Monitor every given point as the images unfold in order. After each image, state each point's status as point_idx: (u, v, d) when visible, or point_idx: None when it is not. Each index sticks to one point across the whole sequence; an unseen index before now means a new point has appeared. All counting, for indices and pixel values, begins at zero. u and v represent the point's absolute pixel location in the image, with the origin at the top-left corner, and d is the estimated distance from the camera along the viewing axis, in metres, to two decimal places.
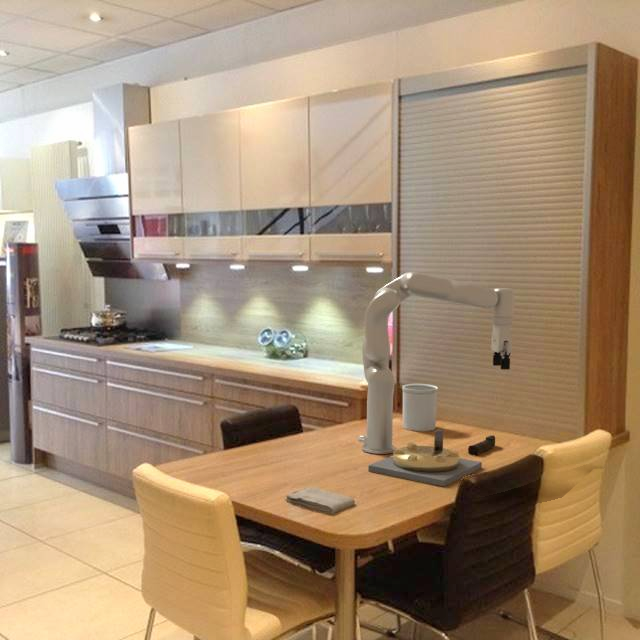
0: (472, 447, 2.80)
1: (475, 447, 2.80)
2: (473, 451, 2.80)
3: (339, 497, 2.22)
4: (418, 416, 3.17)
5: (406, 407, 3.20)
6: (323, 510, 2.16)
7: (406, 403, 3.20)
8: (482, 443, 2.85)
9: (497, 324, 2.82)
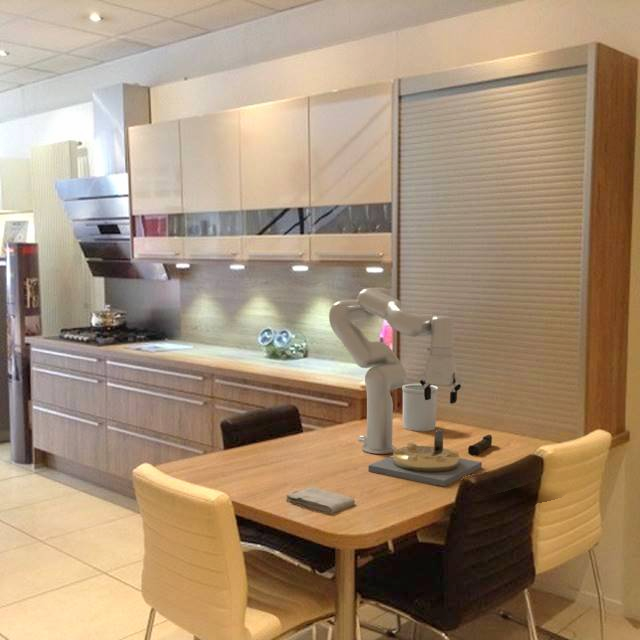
0: (472, 447, 2.80)
1: (475, 447, 2.80)
2: (473, 450, 2.80)
3: (339, 497, 2.22)
4: (418, 416, 3.17)
5: (406, 407, 3.20)
6: (322, 510, 2.16)
7: (406, 403, 3.20)
8: (481, 443, 2.85)
9: (444, 356, 2.61)
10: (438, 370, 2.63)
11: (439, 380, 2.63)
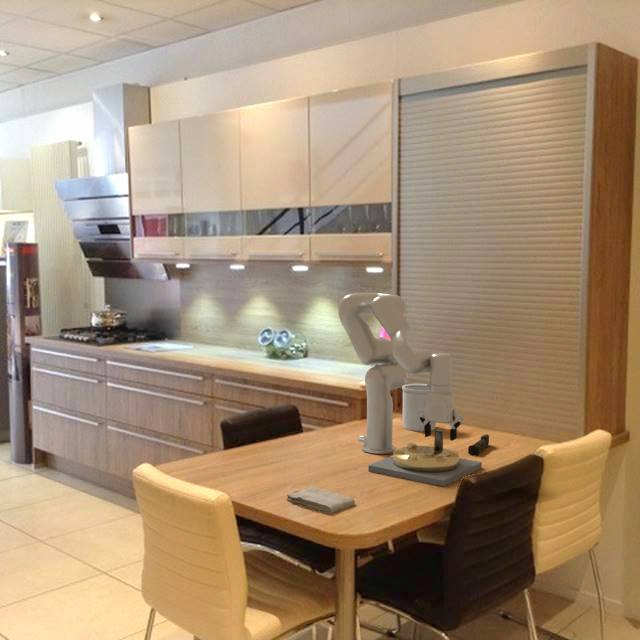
0: (472, 447, 2.80)
1: (476, 447, 2.80)
2: (473, 450, 2.80)
3: (339, 497, 2.22)
4: (418, 416, 3.17)
5: (406, 407, 3.20)
6: (322, 510, 2.16)
7: (406, 403, 3.20)
8: (480, 442, 2.86)
9: (443, 393, 2.62)
10: (437, 407, 2.64)
11: (439, 417, 2.63)
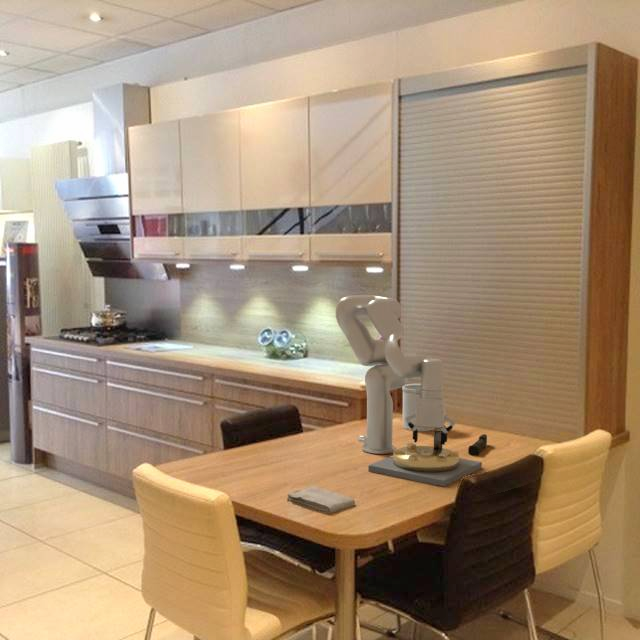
0: (473, 447, 2.80)
1: (476, 447, 2.80)
2: (473, 451, 2.80)
3: (339, 497, 2.22)
4: None
5: (406, 407, 3.20)
6: (321, 510, 2.16)
7: (406, 403, 3.20)
8: (479, 442, 2.86)
9: (437, 398, 2.64)
10: (431, 413, 2.65)
11: (432, 422, 2.65)
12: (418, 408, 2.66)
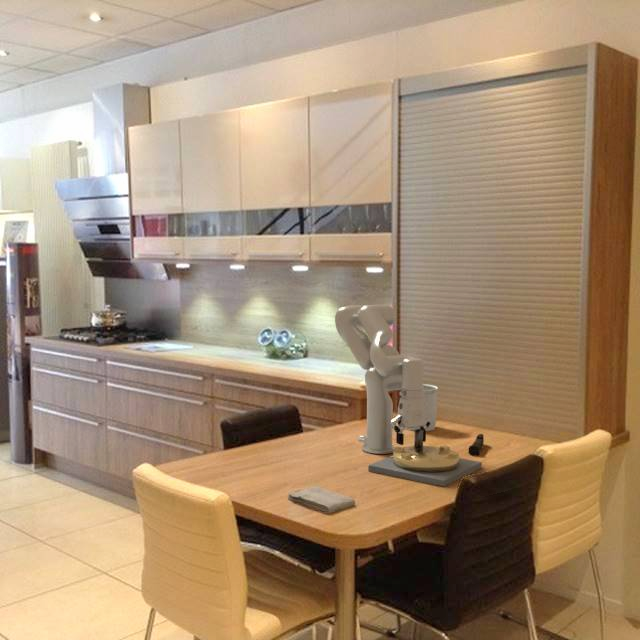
0: (473, 447, 2.80)
1: (476, 447, 2.80)
2: (474, 451, 2.80)
3: (339, 497, 2.22)
4: None
5: None
6: (321, 509, 2.17)
7: None
8: (478, 442, 2.86)
9: (422, 397, 2.66)
10: (417, 412, 2.65)
11: (418, 421, 2.65)
12: (407, 409, 2.63)
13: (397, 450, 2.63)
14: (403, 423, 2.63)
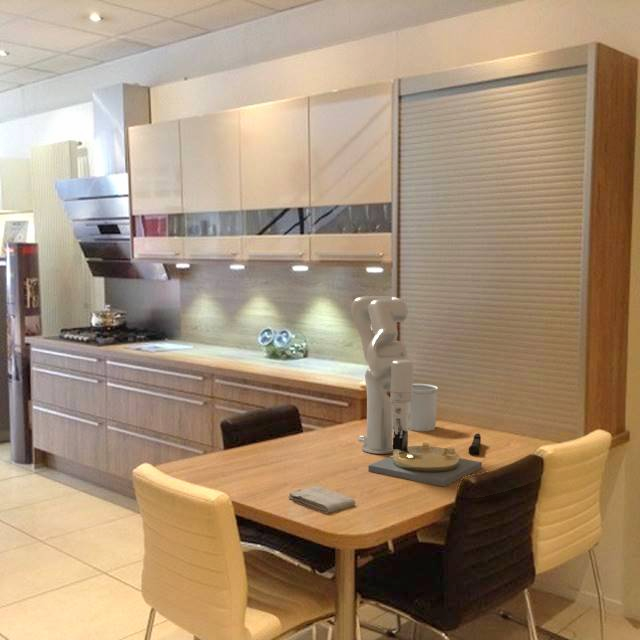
0: (473, 447, 2.80)
1: (477, 447, 2.80)
2: (474, 451, 2.80)
3: (339, 497, 2.22)
4: (418, 416, 3.17)
5: None
6: (320, 509, 2.17)
7: None
8: (477, 442, 2.86)
9: None
10: (409, 414, 2.62)
11: (409, 423, 2.62)
12: (406, 413, 2.57)
13: (402, 456, 2.56)
14: (403, 427, 2.57)
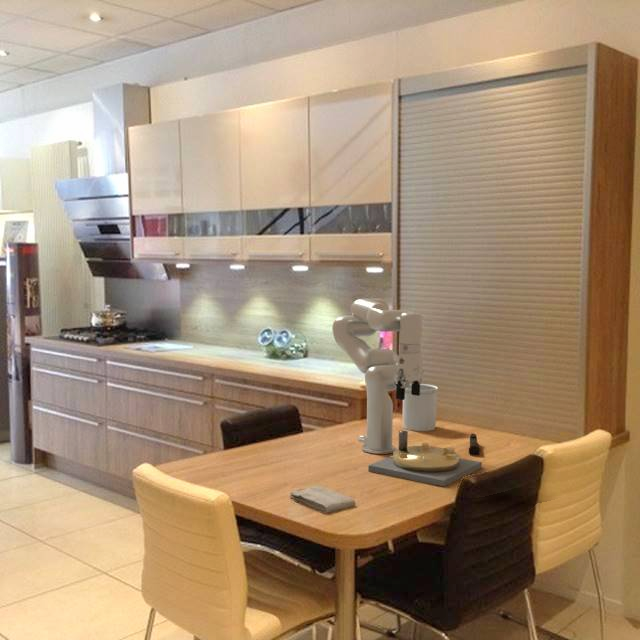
0: (474, 447, 2.80)
1: (477, 447, 2.80)
2: (475, 451, 2.80)
3: (339, 497, 2.22)
4: (418, 416, 3.17)
5: (406, 407, 3.20)
6: (319, 509, 2.17)
7: (406, 403, 3.20)
8: (475, 442, 2.86)
9: None
10: (416, 366, 2.65)
11: (417, 375, 2.66)
12: (409, 364, 2.61)
13: (402, 456, 2.55)
14: (405, 378, 2.62)
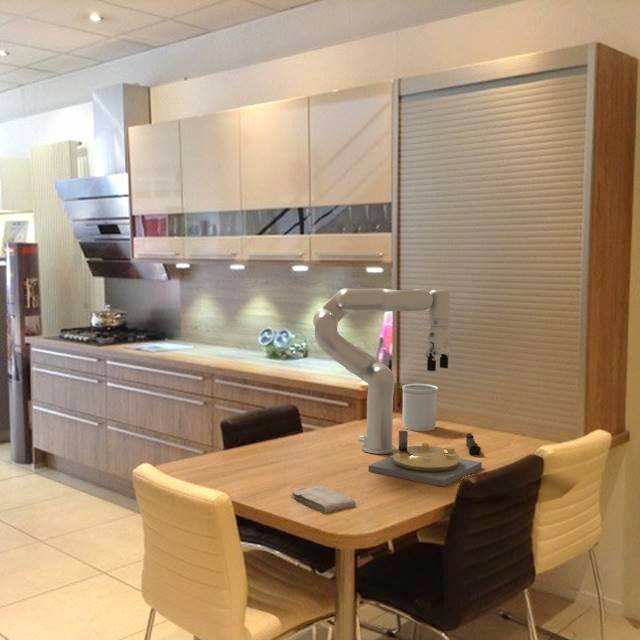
0: (474, 447, 2.80)
1: (477, 447, 2.80)
2: (475, 451, 2.80)
3: (340, 497, 2.22)
4: (418, 416, 3.17)
5: (406, 407, 3.20)
6: (318, 508, 2.17)
7: (406, 403, 3.20)
8: (474, 442, 2.86)
9: None
10: (445, 340, 2.83)
11: (446, 349, 2.83)
12: (439, 337, 2.79)
13: (402, 456, 2.55)
14: (436, 350, 2.79)
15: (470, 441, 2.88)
